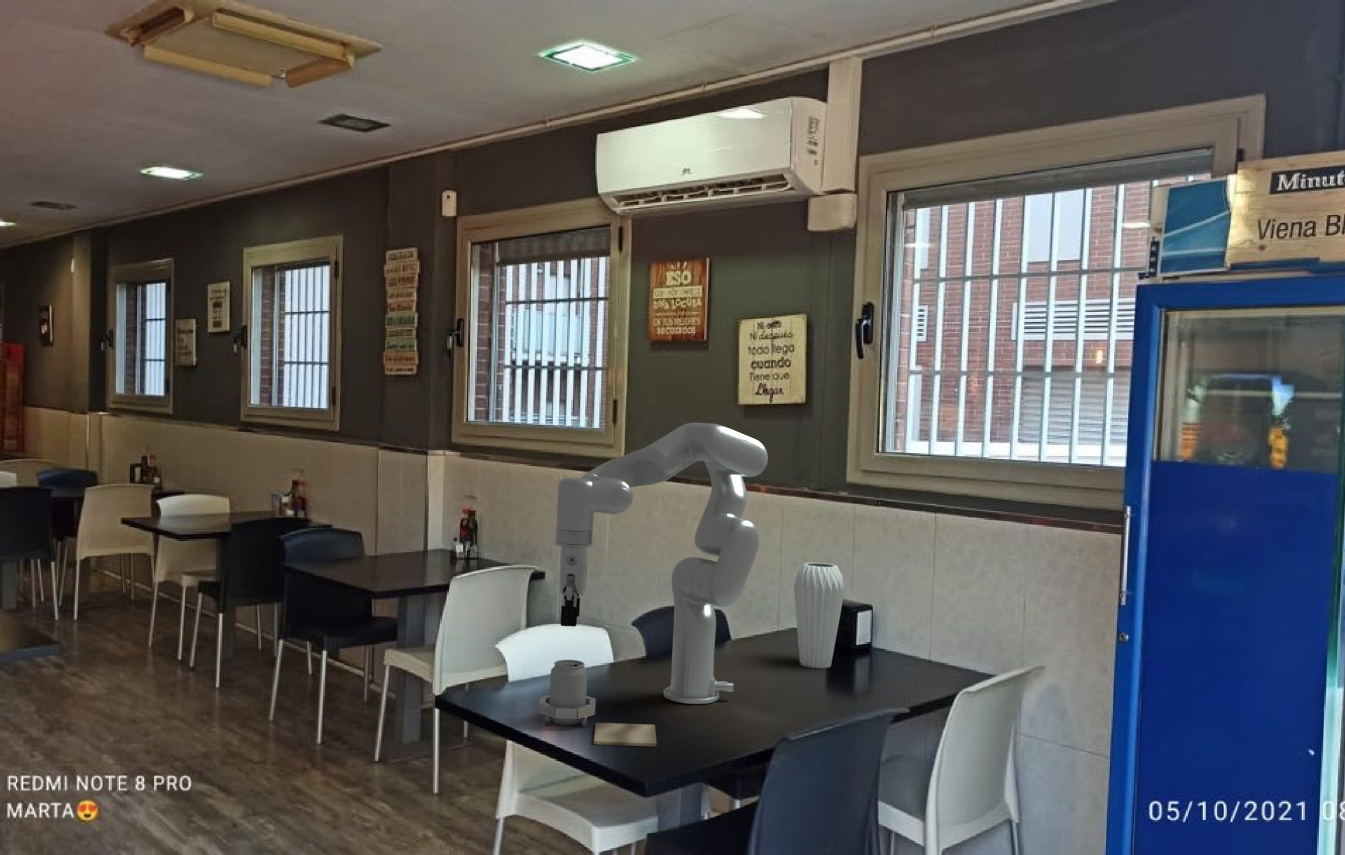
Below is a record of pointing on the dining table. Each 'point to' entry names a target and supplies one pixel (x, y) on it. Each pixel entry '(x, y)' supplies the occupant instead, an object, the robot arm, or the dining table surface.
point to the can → (568, 687)
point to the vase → (818, 612)
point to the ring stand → (567, 710)
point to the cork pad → (625, 734)
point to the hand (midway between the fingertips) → (570, 621)
